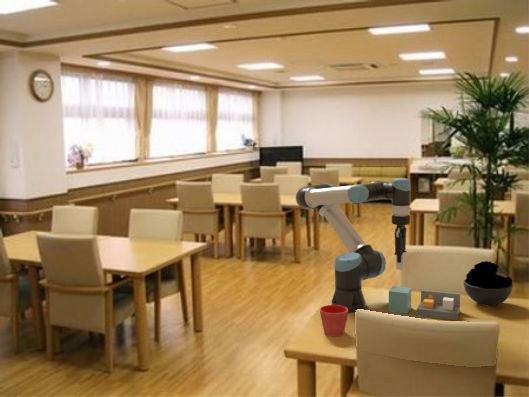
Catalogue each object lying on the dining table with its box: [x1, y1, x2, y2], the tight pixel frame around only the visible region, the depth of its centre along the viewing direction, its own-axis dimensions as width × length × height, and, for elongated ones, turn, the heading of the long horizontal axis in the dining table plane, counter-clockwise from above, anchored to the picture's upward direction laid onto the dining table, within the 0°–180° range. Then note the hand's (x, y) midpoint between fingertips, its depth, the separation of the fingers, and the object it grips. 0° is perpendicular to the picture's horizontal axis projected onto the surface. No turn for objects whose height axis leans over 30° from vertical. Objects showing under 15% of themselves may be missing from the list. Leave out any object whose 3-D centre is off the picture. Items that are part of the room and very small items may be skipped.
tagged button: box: [423, 299, 434, 308], centre depth 231 cm, size 4×4×5 cm
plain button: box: [443, 297, 454, 311], centre depth 228 cm, size 4×4×5 cm
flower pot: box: [319, 304, 349, 337], centre depth 212 cm, size 11×11×10 cm
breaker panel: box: [416, 289, 461, 321], centre depth 230 cm, size 16×12×8 cm
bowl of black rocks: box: [463, 260, 514, 307], centre depth 239 cm, size 20×20×19 cm
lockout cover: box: [388, 285, 412, 314], centre depth 236 cm, size 8×8×9 cm
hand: (400, 268), depth 235 cm, fingers open, 3 cm apart
